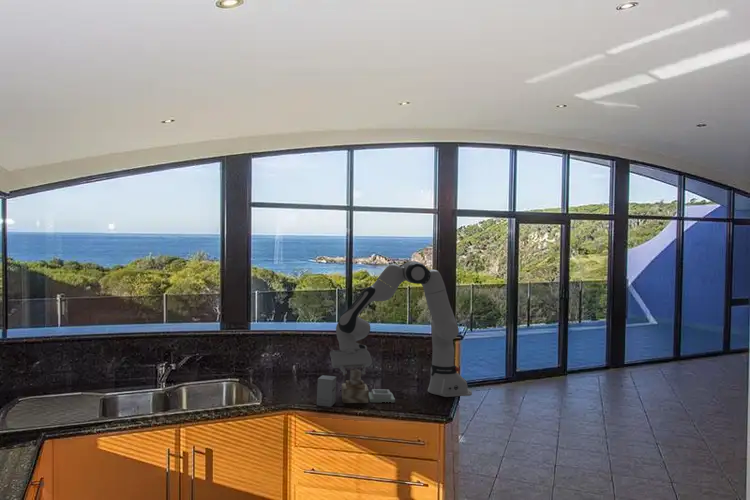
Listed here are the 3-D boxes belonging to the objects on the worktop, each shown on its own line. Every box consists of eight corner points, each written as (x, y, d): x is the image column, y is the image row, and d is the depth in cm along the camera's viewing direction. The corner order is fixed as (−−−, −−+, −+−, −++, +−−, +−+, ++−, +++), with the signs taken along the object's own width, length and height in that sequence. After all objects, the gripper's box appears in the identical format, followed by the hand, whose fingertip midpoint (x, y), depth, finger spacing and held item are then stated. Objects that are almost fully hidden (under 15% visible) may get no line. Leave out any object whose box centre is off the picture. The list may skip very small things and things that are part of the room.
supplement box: (331, 407, 277) (332, 380, 276) (316, 405, 278) (317, 378, 278) (335, 402, 284) (336, 376, 283) (320, 401, 285) (321, 374, 285)
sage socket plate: (391, 395, 300) (391, 388, 300) (395, 402, 288) (395, 395, 288) (367, 395, 298) (367, 388, 298) (370, 402, 287) (370, 395, 286)
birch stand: (365, 395, 297) (366, 379, 297) (368, 403, 285) (368, 386, 285) (341, 395, 296) (342, 379, 296) (342, 402, 284) (343, 386, 284)
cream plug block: (357, 385, 293) (358, 369, 293) (360, 387, 289) (361, 371, 289) (349, 386, 292) (350, 369, 291) (352, 388, 288) (353, 371, 288)
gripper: (330, 347, 294) (335, 371, 285) (369, 345, 301) (375, 369, 293) (327, 354, 298) (332, 378, 290) (366, 352, 306) (372, 376, 297)
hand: (354, 374), depth 291 cm, fingers open, 8 cm apart
